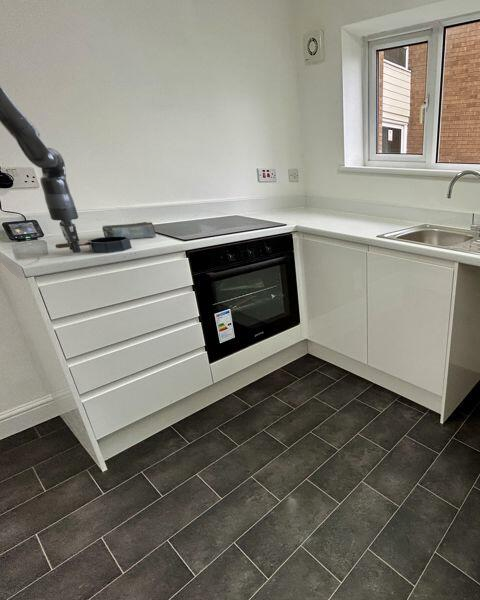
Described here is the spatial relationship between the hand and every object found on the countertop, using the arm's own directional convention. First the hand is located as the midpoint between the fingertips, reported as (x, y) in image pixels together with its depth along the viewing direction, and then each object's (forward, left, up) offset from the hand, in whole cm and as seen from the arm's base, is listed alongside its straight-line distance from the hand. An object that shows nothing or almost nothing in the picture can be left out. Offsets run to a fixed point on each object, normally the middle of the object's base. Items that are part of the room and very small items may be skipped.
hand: (75, 250), depth 135 cm
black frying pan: (+6, 0, -1) cm, 6 cm away
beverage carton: (+23, +20, -1) cm, 31 cm away
